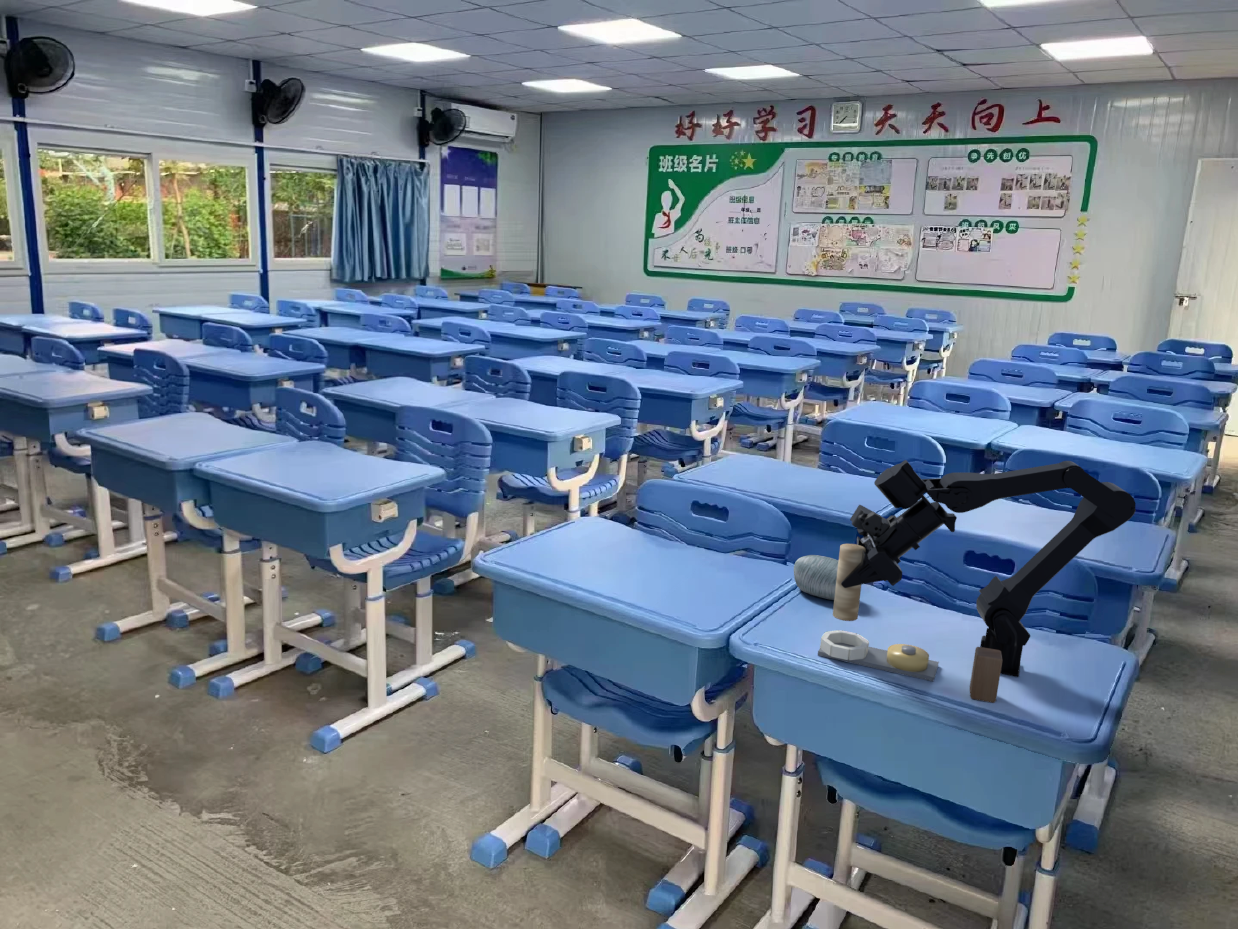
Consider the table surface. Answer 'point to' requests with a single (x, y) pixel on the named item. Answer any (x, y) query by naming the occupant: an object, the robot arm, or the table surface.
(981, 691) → the wooden block
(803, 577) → the grey streaked oval stone
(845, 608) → the peg
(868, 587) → the table surface
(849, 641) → the board
